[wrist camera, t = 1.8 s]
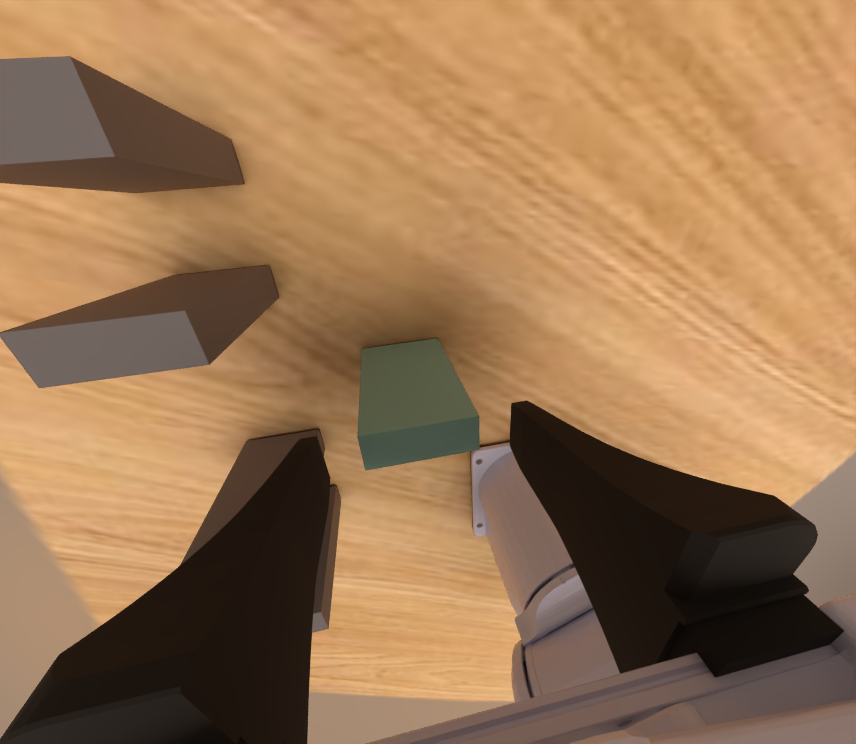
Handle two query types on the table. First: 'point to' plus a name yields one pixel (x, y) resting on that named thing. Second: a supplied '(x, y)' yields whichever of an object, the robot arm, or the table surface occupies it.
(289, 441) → the domino
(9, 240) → the table surface
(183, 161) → the domino
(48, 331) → the domino
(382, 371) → the teal domino
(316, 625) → the domino
